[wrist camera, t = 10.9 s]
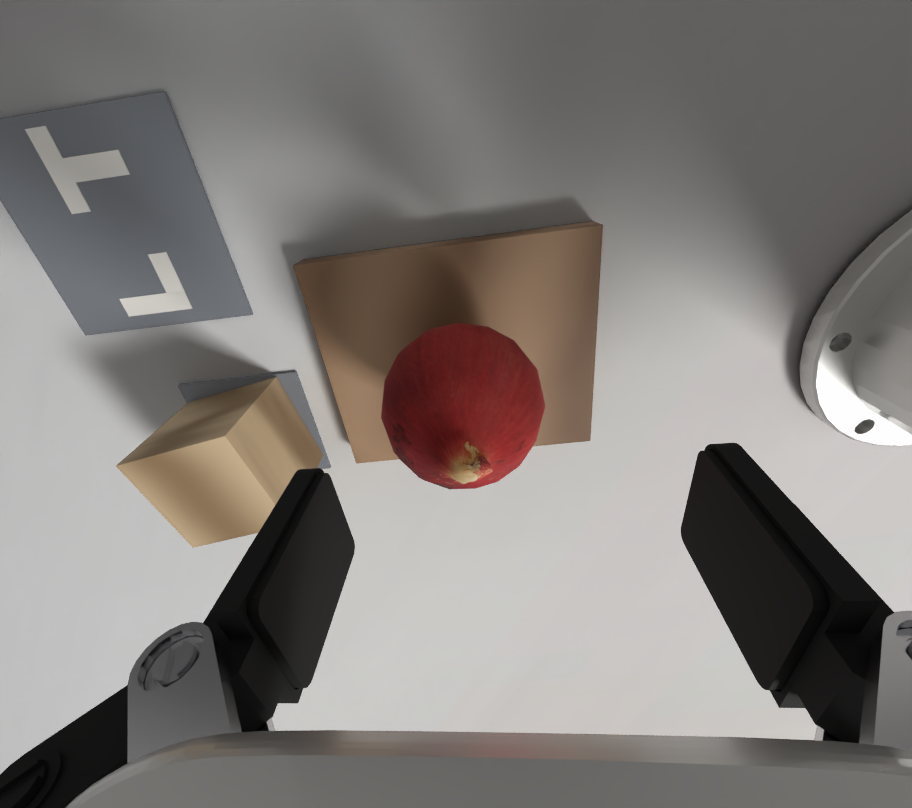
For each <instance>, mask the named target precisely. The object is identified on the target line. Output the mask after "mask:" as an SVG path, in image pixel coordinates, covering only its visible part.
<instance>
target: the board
mask: <svg viewBox="0 0 912 808" xmlns="http://www.w3.org/2000/svg"><path fill="white" fill-rule="evenodd" d="M602 229H603V225H602V224H599V223H597V222H594V221H591V222H584V223H576V224H569V225H561V226H553V227H546V228H538V229H531V230H523V231H516V232H508V233H500V234H493V235H485V236H478V237H470V238H462V239H455V240H447V241H440V242H432V243H425V244H417V245H409V246H402V247H394V248H387V249H379V250H372V251H364V252H356V253H349V254H341V255H334V256H326V257H319V258H311V259H303V260H302V261H300V262H298V263H297V264H295V265H293V267H294V270H295V273H296V276H297V279H298V282H299V286H300V289H301V292H302V295H303V298H304V301H305V304H306V307H307V311H308V314H309V317H310V320H311V323H312V326H313V329H314V332H315V336H316V339H317V342H318V345H319V348H320V351H321V354H322V358H323V361H324V364H325V367H326V370H327V373H328V376H329V379H330V383H331V386H332V389H333V392H334V395H335V398H336V401H337V404H338V408H339V411H340V414H341V417H342V420H343V423H344V426H345V429H346V433H347V436H348V439H349V442H350V445H351V448H352V451H353V455H354V458H355V461H356V463H365V462H375V461H385V460H396V459H399V458H398V457H397V455H396V454H395V453H394V452H393V449H392V446H391V443H390V441H389V438H388V435H387V433H386V430H385V427H384V425H383V422H382V419H381V413H382V401H383V391H384V382H385V379H386V377H387V375H388V373H389V371H390V369H391V367H392V365H393V363H394V361H395V359H396V357H397V355H398V354H399V353H400V352H401V351H402V350H403V349H404V348H405V347H406V346H407V345H409V344H410V343H411V342H412V341H414V340H415V339H416V338H418V337H419V336H420V335H421V334H423V333H424V332H425V331H427V330H428V329H432V328H437V327H441V326H445V325H449V324H453V323H466V324H473V325H480V326H487V327H490V328H492V329H494V330H496V331H497V332H499V333H501V334H503V335H505V336H507V337H509V338H511V339H512V340H514V341H515V342H516V343H517V345H518V346H519V347H520V348H521V349H522V351H523V352H524V353H525V354H526V356H527V357H528V358H529V359H530V361H531V362H532V363H533V364H534V366H535V367H536V368H537V370H538V374H539V379H540V383H541V388H542V392H543V397H544V402H545V410H544V413H543V417H542V421H541V425H540V428H539V432H538V436H537V440H536V442H535V443H534V445H533V446H541V445H551V444H562V443H572V442H582V441H590V435H591V418H592V401H593V384H594V367H595V349H596V332H597V315H598V298H599V280H600V263H601V246H602Z"/></svg>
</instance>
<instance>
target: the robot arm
mask: <svg viewBox="0 0 912 808" xmlns="http://www.w3.org/2000/svg"><path fill="white" fill-rule="evenodd" d="M800 383H801V388H802V391H803V394H804V397H805V400H806V402H807V404H808V405H809V407H810V408H811V409H812V411H813V412H814V413H815V414H816V416H817V417H818V418H820V419H821V420H822V421H824V422H825V423H827V424H828V425H829V426H831V427H832V428H833V429H835V430H836V431H837V432H839V433H841V434H843V435H845V436H846V437H848V438H850V439H853V440H856V441H860V442H864V443H868V444H872V445H887V446H902V445H912V210H911V211H909V212H908V213H907V214H906V215H904V216H903V217H902V218H900V219H899V220H898V221H897V222H895V223H894V224H893V225H892V226H890V227H889V228H888V229H887V230H885V231H884V232H883V233H881V234H880V235H879V236H878V237H877V238H876V239H875V240H874V241H873V242H872V243H871V244H870V245H869V246H868V247H867V248H866V249H865V250H864V251H863V252H862V253H861V254H860V255H859V256H858V257H857V258H856V259H855V260H854V261H853V262H852V263H851V264H850V265H849V267H848V268H847V269H846V270H845V272H844V273H843V274H842V275H841V277H840V278H839V279H838V281H837V282H836V283H835V284H834V286H833V287H832V288H831V289H830V291H829V292H828V294H827V296H826V298H825V299H824V301H823V303H822V304H821V306H820V308H819V309H818V311H817V313H816V314H815V316H814V318H813V321H812V323H811V326H810V328H809V331H808V333H807V336H806V338H805V341H804V344H803V350H802V355H801V361H800ZM681 536H682V540H683V542H684V544H685V546H686V548H687V550H688V552H689V554H690V556H691V558H692V560H693V561H694V563H695V565H696V567H697V569H698V571H699V573H700V575H701V577H702V578H703V580H704V582H705V584H706V586H707V588H708V590H709V592H710V593H711V595H712V597H713V599H714V601H715V603H716V605H717V607H718V609H719V610H720V612H721V614H722V616H723V618H724V620H725V622H726V624H727V626H728V627H729V629H730V631H731V633H732V635H733V637H734V639H735V641H736V642H737V644H738V646H739V648H740V650H741V652H742V654H743V656H744V658H745V659H746V661H747V663H748V665H749V667H750V669H751V671H752V673H753V674H754V676H755V678H756V680H757V682H758V683H759V684H760V686H761V687H762V688H764V689H765V690H770V692H771V693H772V695H773V697H774V699H775V701H776V703H777V704H778V706H779V708H806V709H807V711H808V713H809V714H810V716H811V718H812V719H813V721H814V723H815V724H816V725H817V728H816V734H815V739H814V740H791V739H766V738H741V737H698V736H653V735H607V734H552V733H492V732H423V731H336V730H323V731H275V728H274V725H273V721H272V717H273V714H274V712H275V709H276V706H277V704H278V703H298V702H299V699H300V696H301V693H302V690H303V688H307V687H308V686H309V685H310V683H311V681H312V678H313V675H314V672H315V669H316V666H317V663H318V660H319V657H320V654H321V651H322V648H323V645H324V642H325V639H326V636H327V633H328V630H329V627H330V624H331V621H332V618H333V615H334V612H335V609H336V606H337V603H338V600H339V597H340V594H341V591H342V588H343V585H344V582H345V579H346V576H347V573H348V570H349V567H350V564H351V561H352V558H353V555H354V549H355V545H354V540H353V537H352V534H351V531H350V529H349V526H348V523H347V521H346V518H345V515H344V512H343V510H342V507H341V504H340V501H339V499H338V496H337V493H336V491H335V488H334V485H333V482H332V480H331V477H330V475H329V474H328V473H324V472H323V470H322V469H321V468H312V469H299V470H297V471H296V472H295V474H294V476H293V477H292V479H291V480H290V482H289V484H288V485H287V487H286V489H285V490H284V492H283V494H282V495H281V497H280V498H279V500H278V502H277V503H276V505H275V507H274V508H273V510H272V512H271V513H270V515H269V516H268V518H267V520H266V521H265V523H264V525H263V526H262V528H261V529H260V531H259V533H258V534H257V536H256V538H255V539H254V541H253V543H252V544H251V546H250V547H249V549H248V551H247V552H246V554H245V556H244V557H243V559H242V561H241V562H240V564H239V565H238V567H237V569H236V570H235V572H234V574H233V575H232V577H231V579H230V580H229V582H228V583H227V585H226V587H225V588H224V590H223V592H222V593H221V595H220V597H219V598H218V600H217V601H216V603H215V605H214V606H213V608H212V610H211V611H210V613H209V615H208V616H207V618H206V619H205V621H204V623H199V622H190V623H185V624H181V625H179V626H177V627H175V628H173V629H170V630H168V631H167V632H166V633H164V634H163V635H161V636H160V637H158V638H157V639H156V640H155V641H154V642H153V643H152V644H150V645H149V646H148V647H147V648H146V649H145V650H144V652H143V653H142V654H141V656H140V657H139V658H138V660H137V661H136V663H135V665H134V667H133V669H132V671H131V673H130V676H129V681H128V685H127V686H126V687H124V688H123V689H121V690H120V691H118V692H117V693H115V694H114V695H112V696H111V697H109V698H108V699H106V700H105V701H103V702H102V703H100V704H99V705H97V706H96V707H94V708H93V709H91V710H90V711H88V712H87V713H85V714H84V715H82V716H81V717H79V718H78V719H76V720H75V721H73V722H72V723H70V724H69V725H67V726H66V727H64V728H63V729H61V730H60V731H58V732H57V733H55V734H54V735H52V736H51V737H50V738H48V739H47V740H45V741H44V742H42V743H41V744H39V745H38V746H36V747H35V748H33V749H32V750H30V751H29V752H27V753H26V754H24V755H23V756H22V757H20V758H19V759H18V760H16V761H15V762H14V763H13V764H11V765H10V766H9V767H8V768H7V769H6V770H5V771H4V772H3V773H2V774H1V775H0V808H912V611H901V612H895V613H894V612H893V611H892V610H891V609H890V608H889V606H888V605H887V604H886V603H885V602H884V601H883V600H882V599H881V598H880V597H879V596H878V595H877V593H876V592H875V591H874V590H873V589H872V588H871V587H870V586H869V585H868V584H867V583H866V581H865V580H864V579H863V578H862V577H861V576H860V575H859V574H858V573H857V572H856V571H855V569H854V568H853V567H852V566H851V565H850V564H849V563H848V562H847V561H846V560H845V559H844V557H843V556H842V555H841V554H840V553H839V552H838V551H837V550H836V549H835V548H834V547H833V546H832V544H831V543H830V542H829V541H828V540H827V539H826V538H825V537H824V536H823V535H822V534H821V532H820V531H819V530H818V529H817V528H816V527H815V526H814V525H813V524H812V523H811V522H810V520H809V519H808V518H807V517H806V516H805V515H804V514H803V513H802V512H801V511H800V510H799V508H798V507H797V506H796V505H795V504H794V503H792V502H791V501H790V499H789V498H788V497H787V496H786V495H785V494H784V493H783V492H782V491H781V490H780V489H779V487H778V486H777V485H776V484H775V483H774V482H773V481H772V480H771V479H770V478H769V477H768V475H767V474H766V473H765V472H764V471H763V470H762V469H761V468H760V467H759V466H758V465H757V463H756V462H755V461H754V460H753V459H752V458H751V457H750V456H749V455H748V454H747V453H746V451H745V450H744V449H743V448H742V447H741V446H740V445H739V444H737V443H724V444H710V445H708V446H707V447H706V448H705V451H700V452H699V454H698V457H697V461H696V465H695V470H694V474H693V478H692V483H691V487H690V491H689V496H688V500H687V504H686V509H685V513H684V517H683V522H682V526H681Z"/></svg>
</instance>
